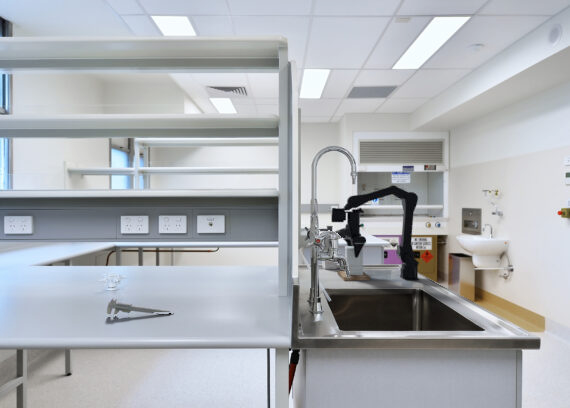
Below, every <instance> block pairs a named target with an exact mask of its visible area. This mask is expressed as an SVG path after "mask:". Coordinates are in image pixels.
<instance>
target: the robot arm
mask: <svg viewBox="0 0 570 408" xmlns="http://www.w3.org/2000/svg"><path fill="white" fill-rule="evenodd" d="M391 195H392V196H394V197H396V198H397V199H400V200H401V206H402V210H403V213H402V214H403V215H402V216H403V218H402V229H401V230H402V231H401V241H400V244H396V252H395V254H396V255H397V258H398V259H399V260H400V261H401V263H402V264H401V267H400V275H399V277H400V278H402V279H403V280H405V281H413V280H414V281H415V280H416V281H417V280H418V281H419V280H420V278H419V277H418V274H419V273H418V272H419V271H418V270H419V269H418V266H419V261H417V259H416V258H415V256H414V251H413V250H414V248H413V245H412V239H413V238H412V236H413V227H414V226H413V223H414V212H415V210H416V208H417V205H418V201H419V197H418V195H417V194H416V193H415V192H413V191H412V192H411V191H406V190H405V189H403V188H400V187H398V186H397V185H394V184H393V185H389V186H387V187H384V188H381V189H378V190H374V191H370V192H369V193H364V194H356V195H354V194H353V195H350V196H349V197H348V198H347V200H346V203H345V205H343V207H339V208H338V207H331V223H344V222H345V221H346V222H347V223H346V224H345V227H343V228H340V229H338V230H335V231H334V233H335V232H336V233H338V234H339V235H340V236H341V239H342V240H344V241H345V243H346V246H353V247H354V254H355V258H358V256H359V254H360V251H361V249H363V248H364V246H365V245H366V244H367V238H366V237H365V235H364V236H363V235H362V234H361V232H360V231H361V229H360V228H362V225H361V224H360V223H361V222H360V221H361V214H365V210H364V209H362V208H361V206H363V205H364V204H367V203H369V202H371V201H376V200H378V199H382V198H384V197H387V196H391ZM350 210H351V211H350Z"/></svg>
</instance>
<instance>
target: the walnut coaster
mask: <svg viewBox="0 0 570 408" xmlns="http://www.w3.org/2000/svg"><path fill="white" fill-rule="evenodd" d="M337 275H338V277H340V278H341V279H342V280H343V281H344V282H345V281H346V280H348V281H371V276H370V275H368V273H366V272H365V271H363V275H350V278H347V276H346V273H345V270H338V271H337ZM348 281H347V282H348Z"/></svg>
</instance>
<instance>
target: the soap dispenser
mask: <svg viewBox="0 0 570 408" xmlns="http://www.w3.org/2000/svg"><path fill="white" fill-rule="evenodd" d="M319 230H320V231H319ZM328 230H330V231H332V232H333V225H326V228H319V229H318V231H319V232H327V231H328ZM321 261H322V260H321ZM321 265H322V266H321V267H322V268H323V269H324V270H338V262H337V263H333V262H329V261H322V263H321Z"/></svg>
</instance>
